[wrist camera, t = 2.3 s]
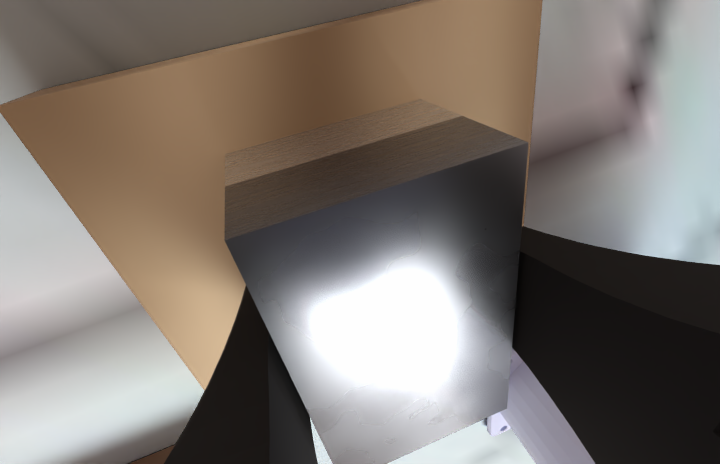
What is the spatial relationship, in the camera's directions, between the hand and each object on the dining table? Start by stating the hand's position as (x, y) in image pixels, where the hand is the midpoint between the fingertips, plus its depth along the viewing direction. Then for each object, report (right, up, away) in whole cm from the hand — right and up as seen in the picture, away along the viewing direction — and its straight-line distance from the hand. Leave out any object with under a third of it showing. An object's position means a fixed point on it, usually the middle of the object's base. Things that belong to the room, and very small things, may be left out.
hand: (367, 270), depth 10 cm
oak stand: (-1, +1, +2) cm, 3 cm away
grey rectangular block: (0, 0, +1) cm, 1 cm away
